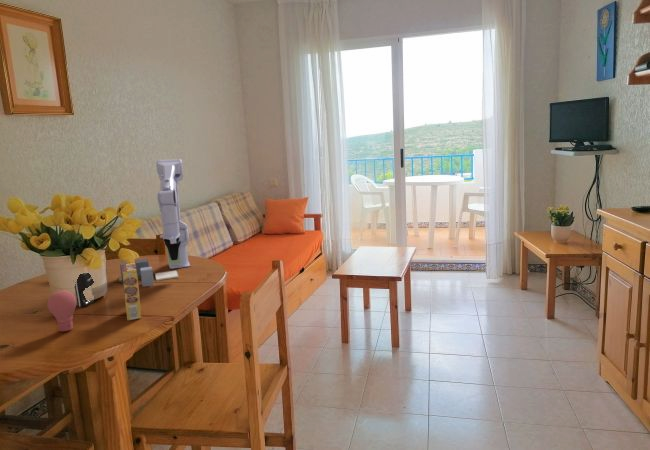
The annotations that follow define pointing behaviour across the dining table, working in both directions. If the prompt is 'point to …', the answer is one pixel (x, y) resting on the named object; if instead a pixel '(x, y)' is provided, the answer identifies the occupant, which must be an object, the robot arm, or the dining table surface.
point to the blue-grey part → (147, 276)
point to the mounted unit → (139, 264)
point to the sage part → (173, 260)
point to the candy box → (131, 291)
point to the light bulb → (62, 308)
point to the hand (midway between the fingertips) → (173, 258)
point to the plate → (166, 275)
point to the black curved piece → (83, 288)
